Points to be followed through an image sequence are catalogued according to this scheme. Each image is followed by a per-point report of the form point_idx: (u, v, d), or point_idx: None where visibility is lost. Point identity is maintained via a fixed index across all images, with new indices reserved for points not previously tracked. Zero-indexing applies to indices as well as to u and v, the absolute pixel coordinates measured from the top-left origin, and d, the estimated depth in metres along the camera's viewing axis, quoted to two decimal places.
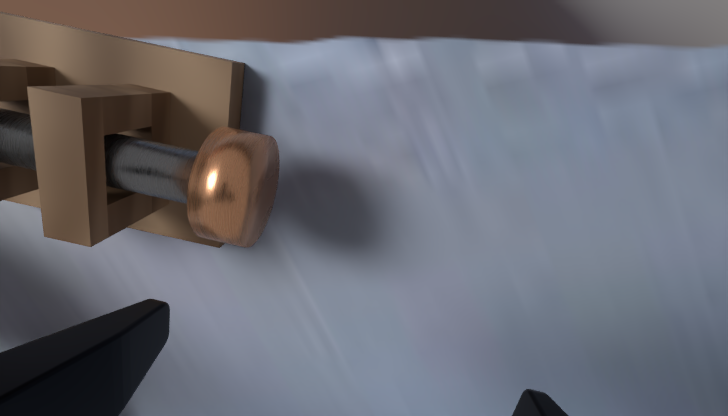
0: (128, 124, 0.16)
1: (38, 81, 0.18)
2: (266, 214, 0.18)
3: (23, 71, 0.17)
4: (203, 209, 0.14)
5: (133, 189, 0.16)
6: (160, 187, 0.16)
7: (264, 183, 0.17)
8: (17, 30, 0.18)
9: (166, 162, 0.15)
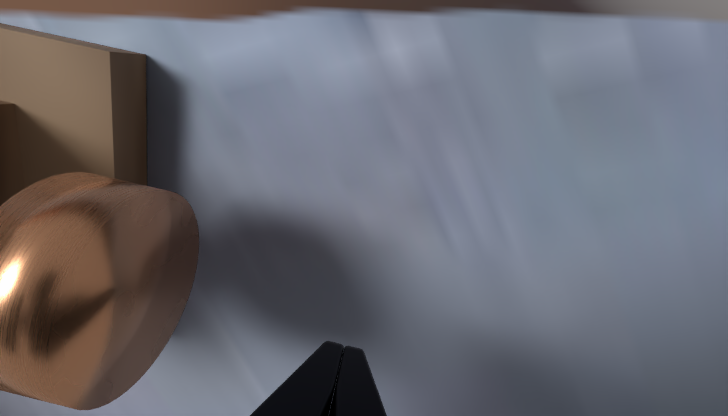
0: None
1: None
2: (172, 315, 0.10)
3: None
4: None
5: None
6: None
7: (153, 273, 0.09)
8: None
9: None
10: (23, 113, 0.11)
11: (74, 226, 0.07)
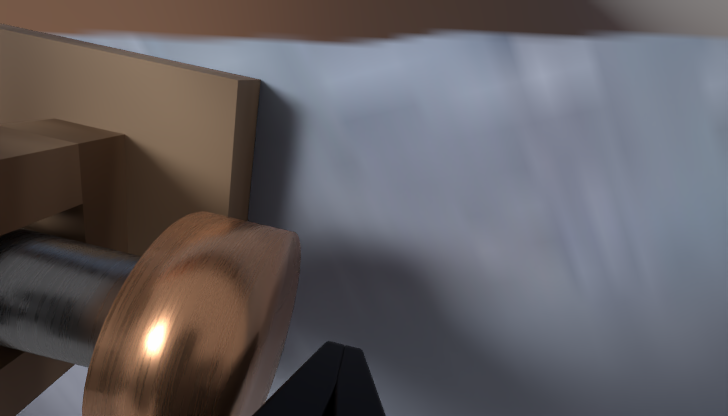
0: (18, 216, 0.08)
1: None
2: (275, 360, 0.10)
3: None
4: None
5: None
6: (47, 350, 0.07)
7: (273, 322, 0.08)
8: None
9: (59, 299, 0.07)
10: (134, 145, 0.10)
11: (224, 285, 0.06)
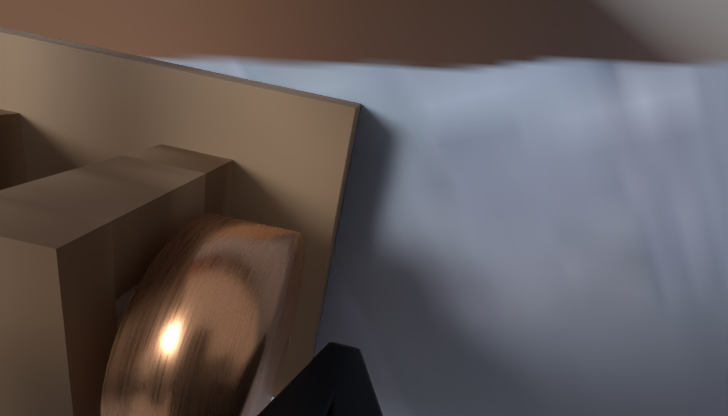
0: None
1: None
2: (281, 358, 0.10)
3: None
4: None
5: None
6: None
7: (280, 320, 0.08)
8: None
9: None
10: (241, 170, 0.10)
11: (237, 284, 0.06)
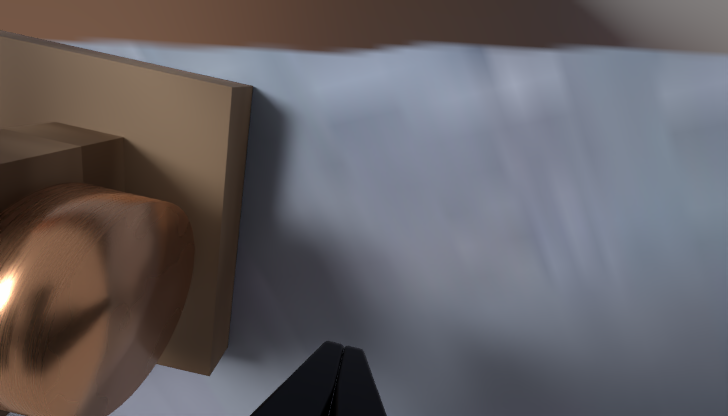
0: None
1: None
2: (167, 326, 0.10)
3: None
4: None
5: None
6: None
7: (149, 285, 0.09)
8: None
9: None
10: (132, 147, 0.11)
11: (69, 240, 0.07)
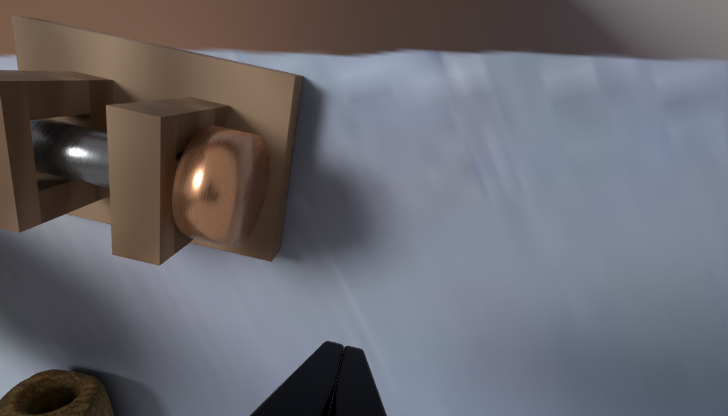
0: None
1: (98, 94, 0.18)
2: (256, 214, 0.18)
3: (86, 84, 0.17)
4: (188, 209, 0.14)
5: None
6: None
7: (253, 182, 0.17)
8: (76, 42, 0.18)
9: None
10: (235, 111, 0.18)
11: (230, 146, 0.14)
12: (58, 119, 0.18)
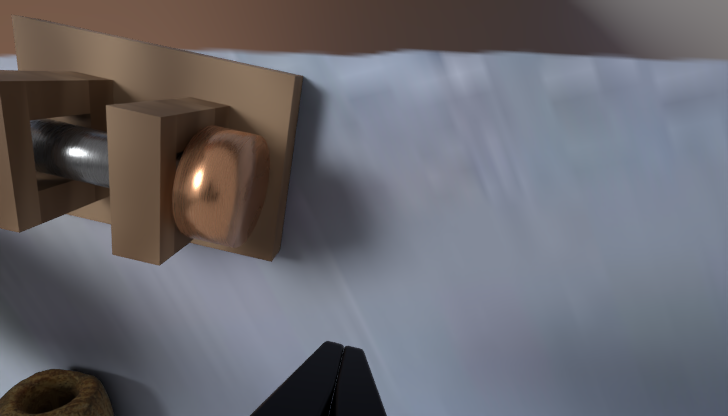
0: None
1: (98, 94, 0.18)
2: (256, 214, 0.18)
3: (86, 84, 0.17)
4: (188, 209, 0.14)
5: None
6: None
7: (253, 182, 0.17)
8: (76, 42, 0.18)
9: None
10: (235, 111, 0.18)
11: (230, 146, 0.14)
12: (58, 119, 0.18)
